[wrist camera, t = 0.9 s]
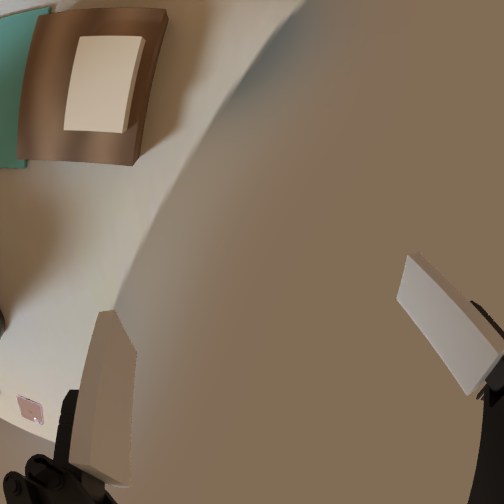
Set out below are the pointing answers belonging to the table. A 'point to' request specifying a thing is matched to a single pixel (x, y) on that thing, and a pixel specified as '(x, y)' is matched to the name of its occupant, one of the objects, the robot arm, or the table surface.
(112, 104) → the tile
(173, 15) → the table surface
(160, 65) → the table surface
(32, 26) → the mat
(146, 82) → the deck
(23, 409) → the mobile phone
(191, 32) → the table surface
